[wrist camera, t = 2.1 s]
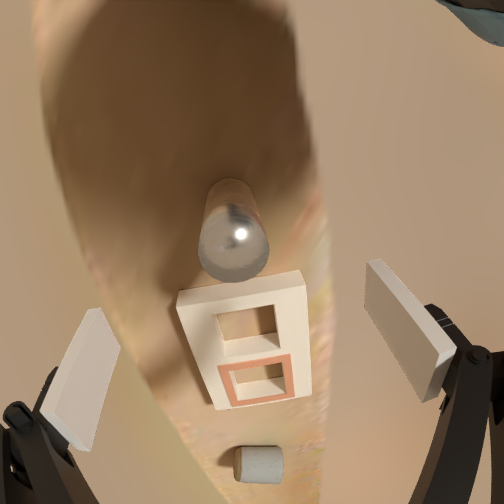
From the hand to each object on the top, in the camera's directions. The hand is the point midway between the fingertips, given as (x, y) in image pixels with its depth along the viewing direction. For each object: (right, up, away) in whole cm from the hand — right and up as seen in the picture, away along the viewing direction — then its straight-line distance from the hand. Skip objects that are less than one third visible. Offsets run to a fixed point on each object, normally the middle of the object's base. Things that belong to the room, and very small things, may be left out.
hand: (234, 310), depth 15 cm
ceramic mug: (+2, -35, +36) cm, 50 cm away
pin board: (+1, -8, +23) cm, 24 cm away
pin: (-1, +7, +15) cm, 17 cm away
